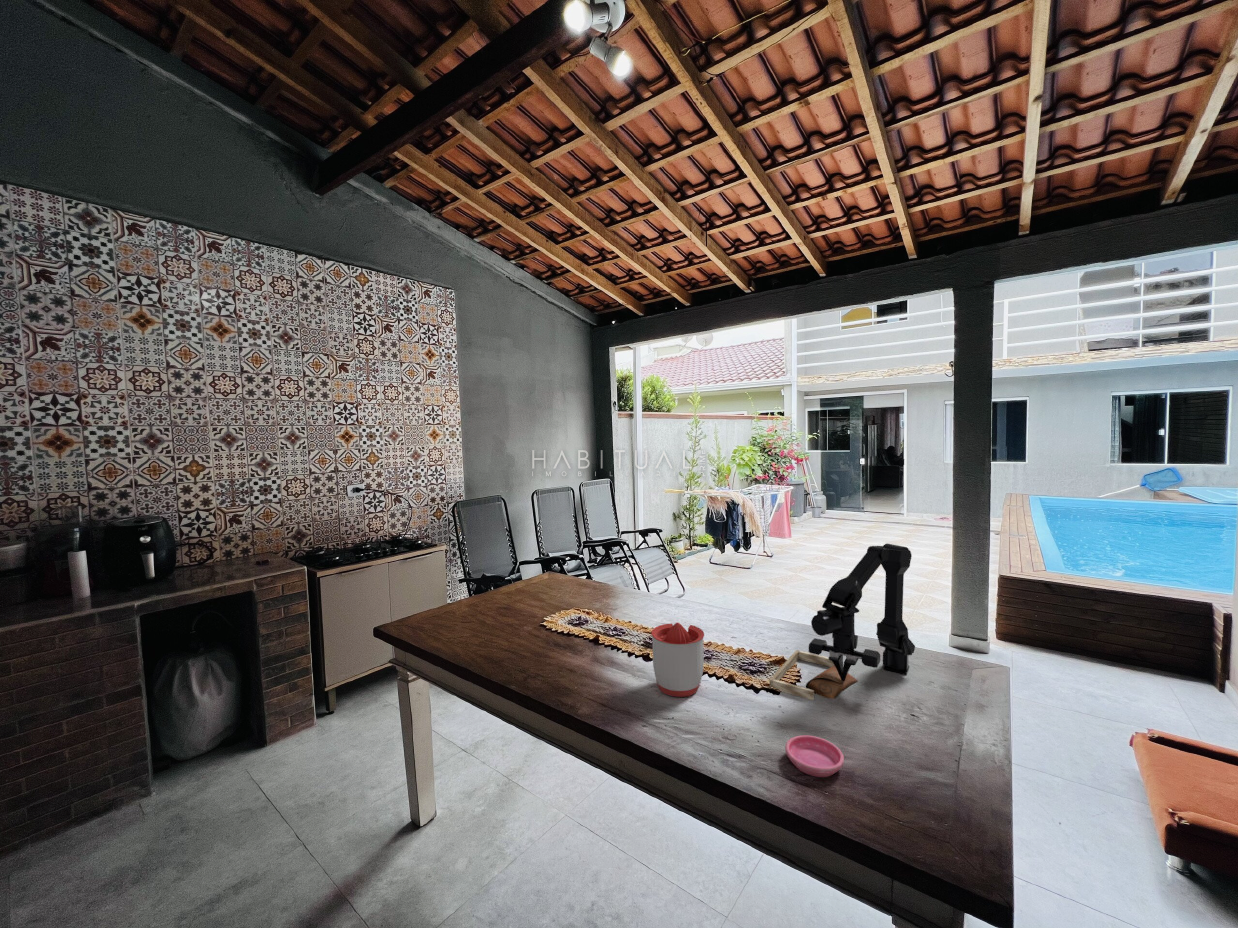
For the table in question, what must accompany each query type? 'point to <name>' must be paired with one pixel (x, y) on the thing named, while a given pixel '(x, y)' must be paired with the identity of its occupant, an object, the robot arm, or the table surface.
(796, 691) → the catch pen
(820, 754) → the saucer
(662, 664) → the citrus juicer
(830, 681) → the sunglasses case
